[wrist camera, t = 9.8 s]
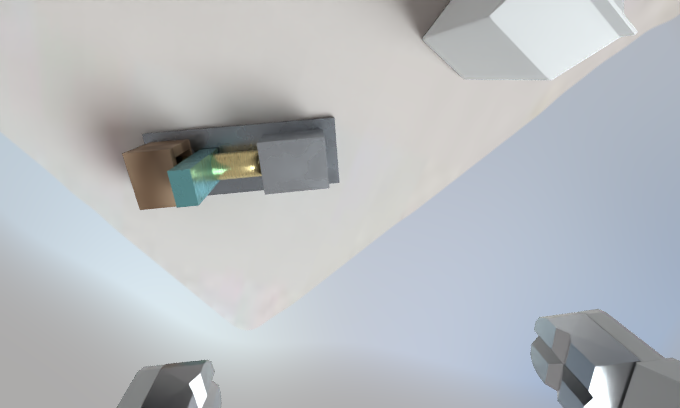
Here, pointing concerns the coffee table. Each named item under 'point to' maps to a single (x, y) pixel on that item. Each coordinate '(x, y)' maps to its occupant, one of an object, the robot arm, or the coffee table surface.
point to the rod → (209, 173)
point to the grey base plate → (271, 153)
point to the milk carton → (524, 36)
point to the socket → (154, 171)
